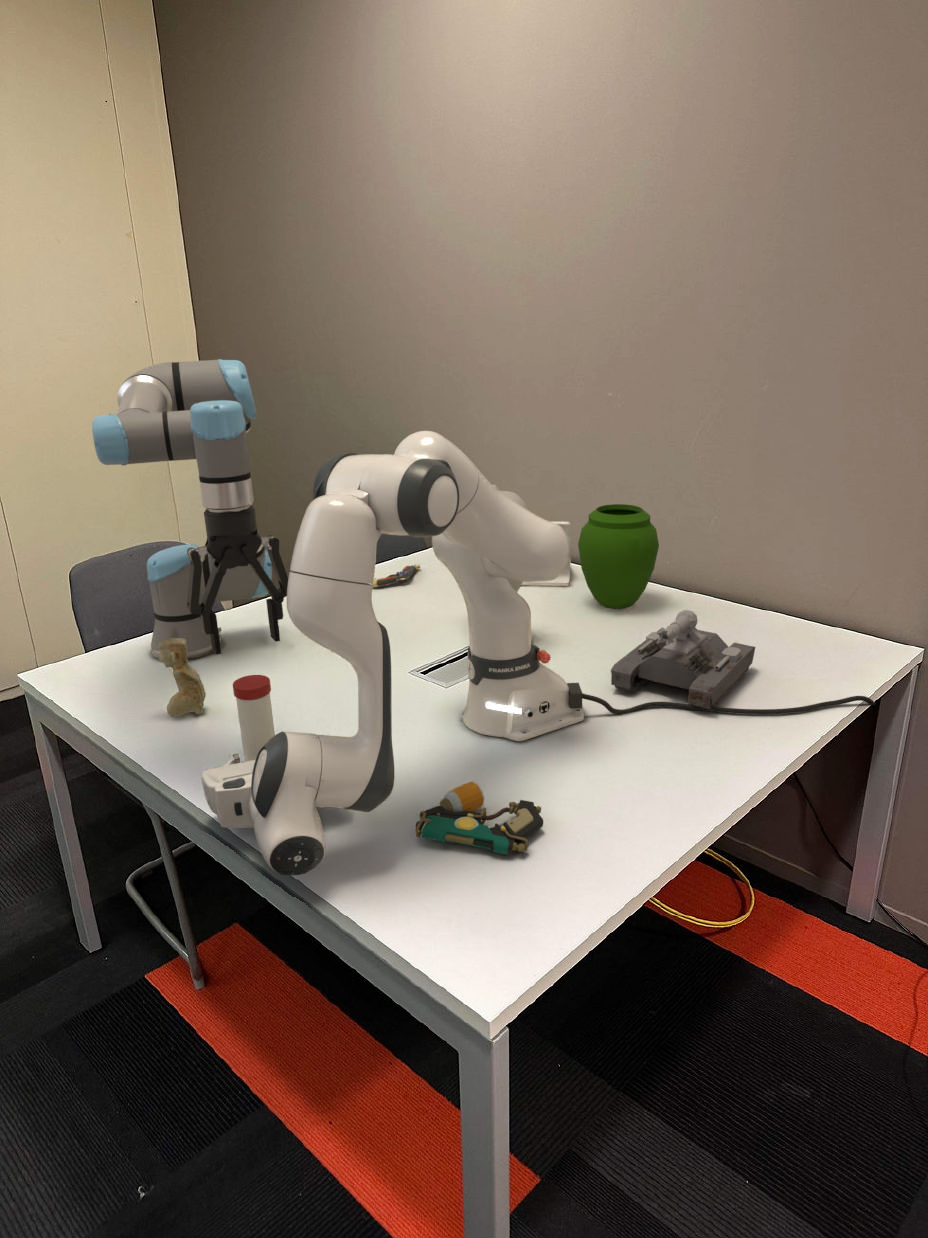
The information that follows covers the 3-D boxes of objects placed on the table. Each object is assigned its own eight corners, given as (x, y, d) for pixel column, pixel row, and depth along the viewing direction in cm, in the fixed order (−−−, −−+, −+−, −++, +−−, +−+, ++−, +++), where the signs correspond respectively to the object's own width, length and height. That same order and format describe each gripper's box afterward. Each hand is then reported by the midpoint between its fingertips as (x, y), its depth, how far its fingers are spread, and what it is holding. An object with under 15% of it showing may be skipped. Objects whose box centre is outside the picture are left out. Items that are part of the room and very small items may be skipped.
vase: (599, 587, 227) (601, 497, 218) (668, 600, 216) (673, 505, 208) (562, 608, 212) (564, 513, 204) (634, 623, 202) (639, 523, 193)
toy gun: (368, 580, 231) (404, 577, 228) (387, 564, 248) (420, 561, 246) (370, 589, 231) (405, 586, 229) (389, 573, 249) (422, 570, 247)
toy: (661, 649, 187) (665, 584, 181) (753, 669, 176) (760, 600, 170) (609, 692, 167) (612, 620, 162) (708, 717, 156) (715, 641, 151)
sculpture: (171, 706, 167) (160, 635, 161) (209, 704, 167) (199, 633, 162) (165, 720, 161) (153, 647, 156) (204, 717, 162) (193, 644, 157)
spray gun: (554, 825, 127) (505, 884, 116) (460, 789, 135) (404, 841, 124) (556, 801, 125) (505, 859, 114) (460, 766, 133) (404, 817, 122)
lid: (230, 700, 137) (229, 691, 136) (237, 685, 142) (236, 675, 142) (268, 699, 137) (266, 689, 136) (273, 683, 143) (272, 673, 142)
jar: (243, 775, 142) (231, 692, 137) (248, 759, 147) (238, 678, 142) (275, 774, 142) (265, 691, 137) (280, 757, 147) (270, 677, 142)
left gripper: (289, 493, 137) (302, 624, 145) (150, 512, 127) (172, 651, 135) (305, 501, 131) (318, 638, 139) (160, 522, 121) (183, 668, 129)
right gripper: (346, 762, 126) (327, 722, 138) (203, 792, 119) (196, 747, 132) (350, 799, 128) (330, 756, 140) (210, 830, 122) (202, 782, 134)
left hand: (246, 644), depth 137 cm, fingers open, 9 cm apart
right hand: (264, 752), depth 136 cm, fingers open, 8 cm apart
